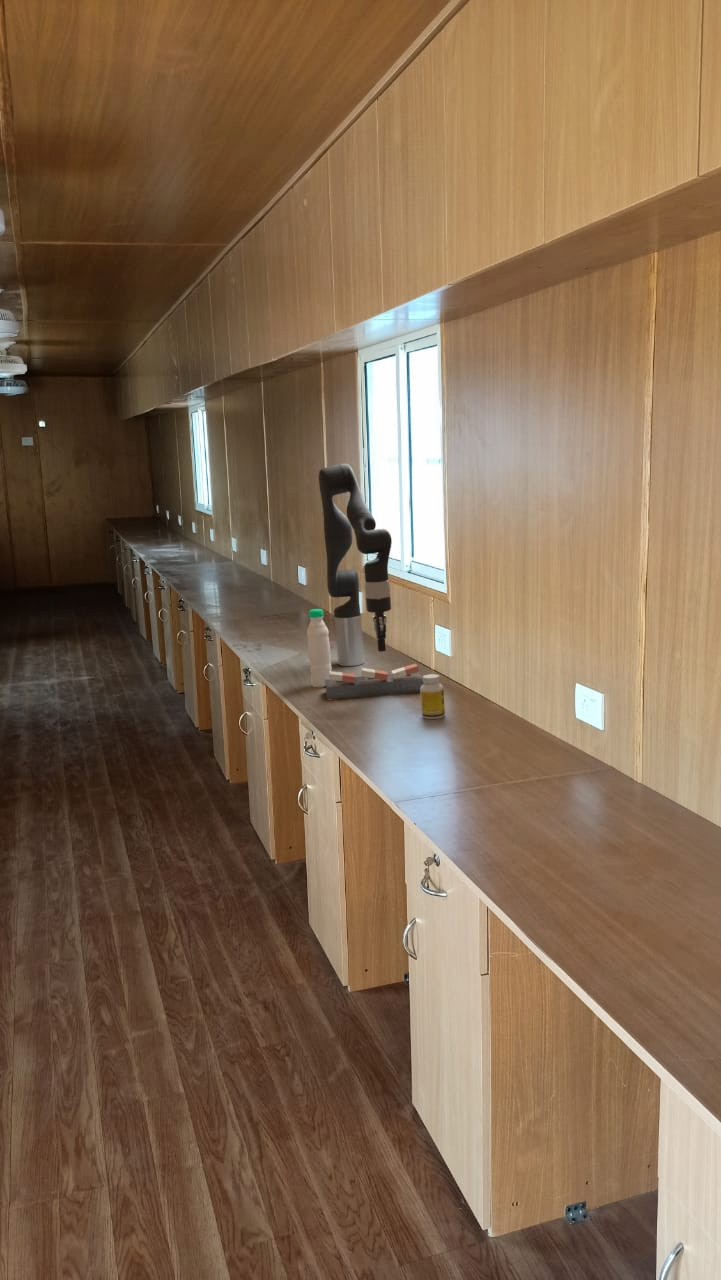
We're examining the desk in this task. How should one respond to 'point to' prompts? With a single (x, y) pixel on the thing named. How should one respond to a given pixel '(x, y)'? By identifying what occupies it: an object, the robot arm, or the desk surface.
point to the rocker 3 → (405, 671)
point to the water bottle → (318, 649)
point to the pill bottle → (432, 697)
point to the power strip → (373, 686)
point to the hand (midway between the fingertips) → (382, 650)
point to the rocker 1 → (341, 676)
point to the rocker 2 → (374, 674)
